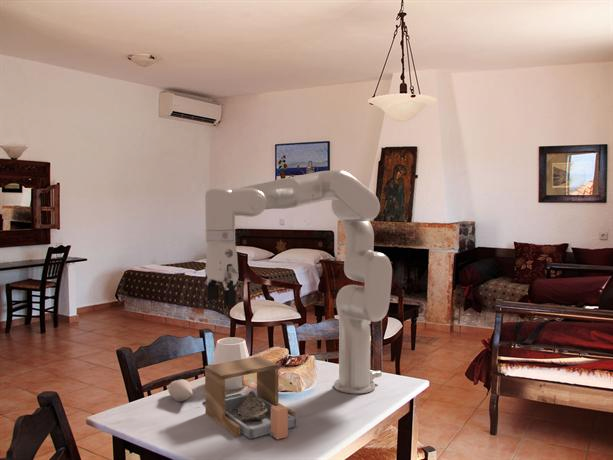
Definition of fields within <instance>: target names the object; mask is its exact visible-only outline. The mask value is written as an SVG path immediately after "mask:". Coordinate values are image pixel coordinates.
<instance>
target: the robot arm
mask: <svg viewBox="0 0 613 460" xmlns="http://www.w3.org/2000/svg"><path fill="white" fill-rule="evenodd" d="M204 195H205V196H204V197H205V198H204V199H205V200H204V204H205V205H204V206H205V207H204V209H205V243H206V253H205V254H206V256H205V266H204V272H205V276H204V277H205V279H206V282H205V284H206V300H207V301H216V300H219V296H220V294H219V293H220V287H219V286H220V285H219V284H218V283H219V282H220V283H222V285H223V288H224V290H223V291H222V293H223V306H224V307H232V306H236V304H237V302H236V300H237V289H238V287H237V285H238V281H239V262H238V252H237V246H236V217H248V218H252V217H257V216H260V215H261V214H262V213H264V211H265V210H275V209H276V210H278V209H281V210H285V209H286V210H287V209H293V208H298V207H303V206H306V205H310V204H315V203H320V202H324V201H331V210H332V212H333V214H334V215H335V217H336V218H338V220H339V221H340V223H341V224H342V225H343V228H344V230H345V250H344V261H343V262H344V263H343V271H344V275H345V276H346V277H347V278H348V279H350V280H352V281H356V282H361V283H364V286H363V285H359V284H348V285H345V286H342V288H340V289H339V290H338V292H337V295H336V298H335V303H336V304H335V305H336V311H337V317H338V325H339V326H338V328H339V329H338V331H339V334H338V335H339V337H338V340H339V341H338V343H339V344H338V346H339V347H338V349H339V350H338V360H339V361H338V379H336V380H335V381H333V387H334V389H335V390H337V391H339V392H342V393H346V394H366V393H370V392H372V391H374V390H375V388H376V383H375V382H374V380H375V379H376V378H381V377H382V373H383V372H382V371H381V370H375V371H373V370H372V369H371V327H370V326H371V325H370V323H369V322H372V323H373V322H375V323H376V322H379V321H381V320H383V319H384V318H385V317H386V315H387V314H388V311H389V309H390V307H389V306H390V300H391V290H392V282H393V281H392V278H393V267H392V262H391V261H390V258H389V256H387V255H386V254H384V253H382V252H379V251H374V248H375V247H374V245H375V244H374V243H375V242H374V241H375V233H374V228H373V226H372V223H371V221H372V220H374V219H375V218H377V216H378V215H379V213H380V210H381V204H380V201H379V198H378V197H377V195H376V194H375V193H374V192H373V191H372V190H371V189H369V188H368V187H367V186H366V185H364V183H362V182H361V181H359V180H358V179H357V178H356V177H354V176H353V175H352V174H350V173H349V172H347V171H345V170H341V169H335V170H334V169H333V170H320V171H316V172H312V173H311V172H310V173H307V174H301V175H295V176H290V177H285V178H280V179H275V180H271V181H267V182H262V183H255V184H250V185H245V186H241V187H234V188H232V189H231V188H210V189H207V190H206V191H205V194H204Z"/></svg>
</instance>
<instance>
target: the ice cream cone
mask: <svg viewBox="0 0 613 460" xmlns="http://www.w3.org/2000/svg"><path fill="white" fill-rule="evenodd" d="M167 390H168V394H169V395H170V396H171V398H172V399H174V400H175V401H176V402H184V401H186V400H188V399H189V398H190V397H191V396H192V395H193V389H192V385H191V383H190V382H189V381H188V380H187V379H178V380H174V381H171V382H170V383H169V385H168V388H167Z"/></svg>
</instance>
